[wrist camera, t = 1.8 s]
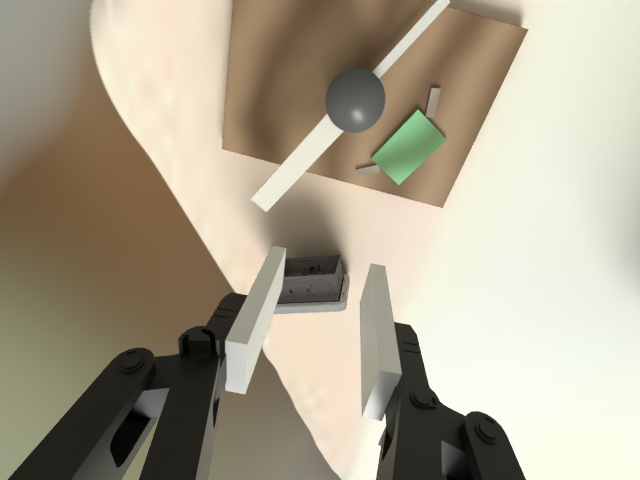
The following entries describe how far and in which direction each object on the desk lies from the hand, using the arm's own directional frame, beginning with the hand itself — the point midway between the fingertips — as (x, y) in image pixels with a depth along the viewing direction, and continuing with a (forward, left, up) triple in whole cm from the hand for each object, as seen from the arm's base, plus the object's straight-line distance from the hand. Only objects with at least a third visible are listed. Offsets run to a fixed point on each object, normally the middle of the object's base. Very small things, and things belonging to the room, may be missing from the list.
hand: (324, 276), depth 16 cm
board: (+1, -8, -19) cm, 20 cm away
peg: (+1, -7, -17) cm, 19 cm away
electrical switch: (+1, +12, -19) cm, 22 cm away
